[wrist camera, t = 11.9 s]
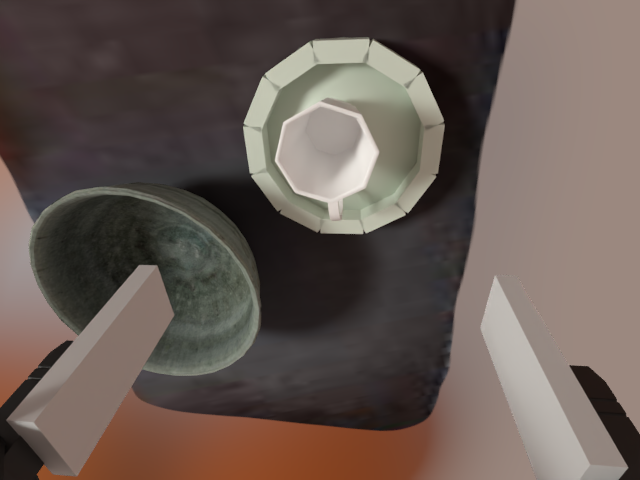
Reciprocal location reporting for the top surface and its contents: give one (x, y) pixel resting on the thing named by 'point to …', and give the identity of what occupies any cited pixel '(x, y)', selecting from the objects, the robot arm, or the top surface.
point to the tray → (379, 115)
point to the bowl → (152, 249)
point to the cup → (327, 153)
